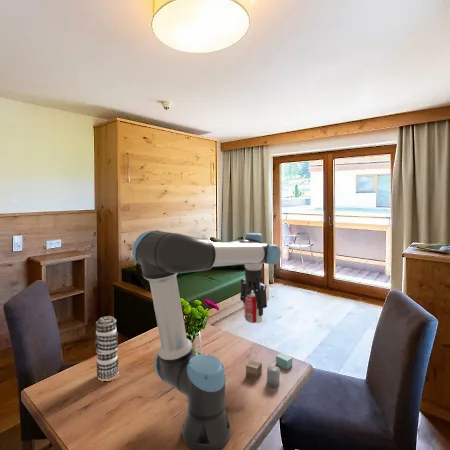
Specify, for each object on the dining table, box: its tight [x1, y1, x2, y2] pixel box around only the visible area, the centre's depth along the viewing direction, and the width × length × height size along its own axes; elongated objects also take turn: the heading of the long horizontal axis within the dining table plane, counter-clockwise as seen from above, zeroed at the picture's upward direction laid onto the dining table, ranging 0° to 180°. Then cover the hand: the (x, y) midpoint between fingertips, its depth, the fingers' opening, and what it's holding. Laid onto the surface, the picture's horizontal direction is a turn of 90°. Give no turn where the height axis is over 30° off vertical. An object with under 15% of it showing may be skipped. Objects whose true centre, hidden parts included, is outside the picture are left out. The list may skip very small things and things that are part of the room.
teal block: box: [275, 352, 293, 370], centre depth 135 cm, size 4×6×4 cm, turn 43°
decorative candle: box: [94, 315, 120, 379], centre depth 125 cm, size 9×9×25 cm
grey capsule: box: [266, 365, 281, 388], centre depth 121 cm, size 5×5×6 cm
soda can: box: [244, 291, 261, 324], centre depth 132 cm, size 7×7×12 cm
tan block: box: [245, 359, 263, 381], centre depth 127 cm, size 5×5×5 cm
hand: (252, 319), depth 133 cm, fingers closed on soda can, 7 cm apart
